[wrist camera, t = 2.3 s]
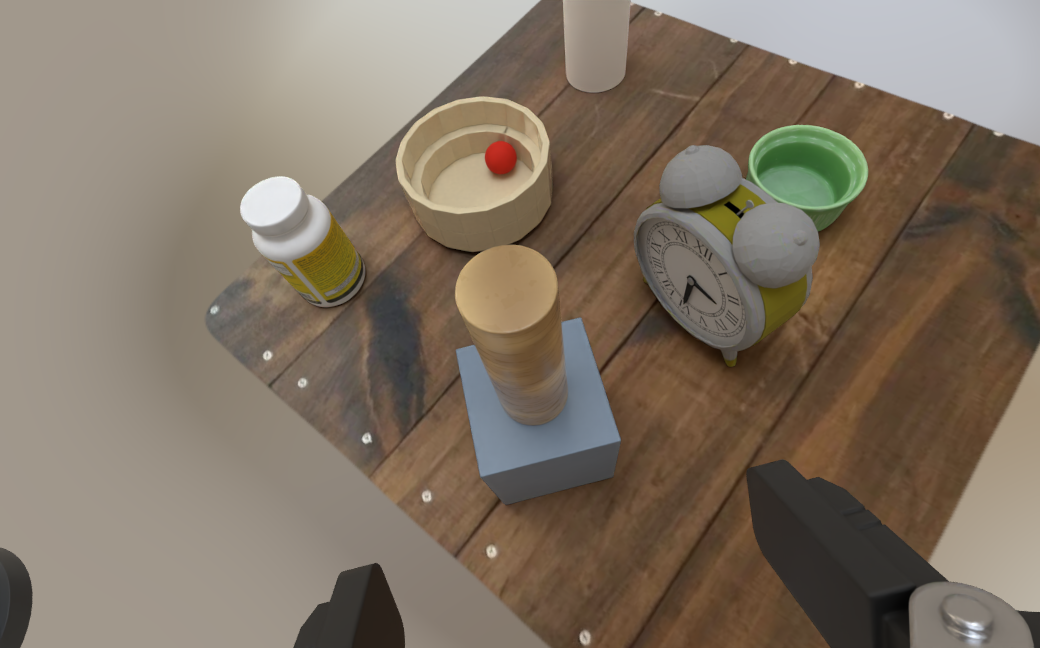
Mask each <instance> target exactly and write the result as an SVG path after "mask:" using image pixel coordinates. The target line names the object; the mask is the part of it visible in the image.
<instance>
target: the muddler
mask: <svg viewBox="0 0 1040 648" xmlns="http://www.w3.org/2000/svg"><path fill="white" fill-rule="evenodd" d="M455 298H456V303H457V307H458V309H459V311H460V313H461V316H462V318H463V320H464V322H465V325H466V327H467V329H468V331H469V334H470V336H471V338H472V340H473V342H474V345H475V347H476V349H477V351H478V354H479V356H480V358H481V360H482V363H483V365H484V367H485V369H486V372H487V374H488V376H489V378H490V380H491V383H492V385H493V387H494V389H495V392H496V394H497V396H498V398H499V401H500V403H501V405H502V407H503V409H504V411H505V412H506V413H507V415H508V416H509V417H511V418H512V419H513V420H515V421H516V422H518V423H521V424H524V425H532V426H533V425H541V424H544V423H547V422H549V421H551V420H553V419H554V418H555V417H557V416H558V415H559V414H560V412H561V411H562V410H563V408H564V406H565V404H566V401H567V397H568V385H567V375H566V364H565V354H564V343H563V333H562V322H561V312H560V301H559V291H558V281H557V276H556V273H555V271H554V269H553V267H552V265H551V264H550V263H549V261H548V260H547V259H546V258H545V257H544V256H542V255H541V254H540V253H538V252H537V251H535V250H533V249H530V248H528V247H524V246H520V245H501V246H496V247H492V248H489V249H487V250H485V251H483V252H481V253H479V254H478V255H476V256H475V257H473V258H472V259H471V260H470V261H469V262H468V263H467V264H466V265H465V267H464V268H463V270H462V271H461V273H460V275H459V277H458V280H457V283H456V288H455Z"/></svg>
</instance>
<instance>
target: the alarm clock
mask: <svg viewBox="0 0 1040 648" xmlns="http://www.w3.org/2000/svg"><path fill="white" fill-rule="evenodd" d="M659 187H660V196H661V199H659V200H658V201H656V202H655V203H653V204H652V205H650V206H649V207H647V208H646V210H645V211H644V212H643V213H642V214H641V215H640V217H639V218H638V220H637V224H636V227H635V231H634V248H635V252H636V256H637V259H638V262H639V265H640V268H641V271H642V273H643V275H644V278H643V281H644V282H645V283H648V285H649V287H650V288H651V290H652V291H653V293H654V294H655V296H656V297H657V299H658V300H659V302H660V303H661V305H662V306H663V307H664V308H665V310H666V311H667V312H668V313H669V314H670V315H671V316H672V317H673V318H674V320H675V321H676V322H678V323H679V324H680V325H681V326H682V327H683V328H684V329H685V330H687V331H688V332H689V333H690V334H691V335H692V336H694V337H696V338H697V339H699V340H701V341H702V342H704V343H706V344H707V345H709V346H711V347H713V348H717V349H721V351H722V354H723V357H724V360H725V362H726V365H727V366H729V367H732V366H735V365H736V360H737V351H741V350H744V349H746V348H749V347H750V346H753V345H755V344H757V343H758V342H759V341H761V340H762V339H763V338H765V337H766V336H767V335H769V334H770V333H771V332H773V331H774V330H775V329H777V328H778V327H779V326H781V325H782V324H783V323H785V322H786V321H787V320H789V319H790V318H791V317H793V316H794V315H795V314H796V313H797V312H798V311H799V310H800V309H801V307H802V306H803V305H804V304H805V302H806V300H807V298H808V296H809V294H810V290H811V284H812V279H813V278H812V265H813V264H814V262H815V261H816V259H817V255H818V251H819V247H820V244H819V236H818V231H817V229H816V227H815V225H814V223H813V221H812V219H811V218H810V217H809V216H808V215H807V214H805V213H804V212H803V211H802V210H801V209H798V208H796V207H794V206H792V205H788V204H785V203H778V202H777V201H775V200H774V199H773V198H772V197H771V196H770V195H769V194H767V193H766V192H765V191H764V190H762V189H761V188H759V187H758V186H756V185H755V184H753V183H752V182H750V181H748V180H745V179H743V178H742V174H741V171H740V168H739V166H738V164H737V162H736V161H735V160H734V159H733V158H732V156H731V155H730V154H728V153H727V152H725V151H724V150H722V149H721V148H717V147H713V146H708V145H705V146H695V145H693V146H690V147H688V148H687V149H686V150H684V151H682V152H680V153H679V154H678V155H676V156H675V157H674V158H673V159H672V160H671V161H670V162H669V163H668V164H667V166H666V168H665V170H664V172H663V175H662V178H661V182H660V185H659Z"/></svg>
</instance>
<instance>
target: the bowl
mask: <svg viewBox="0 0 1040 648" xmlns="http://www.w3.org/2000/svg"><path fill="white" fill-rule="evenodd" d="M497 141H505V142H507V143H509V144H510V145H512V146H513V148H514V149H515V151H516V155H517V160H516V164H515V166H514V168H513V169H512V170H511V171H510V172H508V173H506V174H496V173H494V172H492V171H491V170H490V169H489V168H488V167H487V165H486V162H485V153H486V150H487V148H488V147H489V146H490V145H491V144H492V143H494V142H497ZM396 168H397V174H398V180H399V183H400V185H401V187H402V189H403V191H404V194H405V196H406V198H407V200H408V203H409V205H410V207H411V209H412V211H413V214H414V216H415V218H416V220H417V222H418V223H419V224H420V226H421V227H422V228H423V230H424V231H425V233H426V234H427V235H428V236H429V237H431V238H432V239H434V240H436V241H437V242H439V243H441V244H442V245H444V246H446V247H448V248H453V249H459V250H464V251H469V252H477V251H485V250H487V249H489V248H492V247H496V246H501V245H508V244H511V243H513V242H515V241H518V240H520V239H521V238H523V237H524V236H525V235H526V234H527V233H529V232H530V231H531V230H532V229H533V228H535V227H536V226H537V225H538V224H539V223H540V222H541V220H542V219H543V217H544V215H545V213H546V212H547V210H548V208H549V207H550V205H551V199H552V190H553V177H552V165H551V154H550V142H549V139H548V136H547V133H546V130H545V128H544V125H543V123H542V122H541V121H540V120H539V119H538V118H537V117H536V116H535V115H534V114H533V113H532V112H531V111H530V110H529V109H528V108H526V107H524V106H521V105H519V104H517V103H515V102H512V101H510V100H507V99H501V98H493V97H485V96H484V97H483V96H482V97H474V98H467V99H459V100H456V101H453V102H451V103H448V104H446V105H443V106H441V107H438V108H435V109H434V110H432V111H431V112H429V113H428V114H427V115H425V116H424V117H422V118H421V119H420V120H418V121H417V122H416V123H415V124H414V125H413V126H412V128H411V129H410V130H409V131H408V133H407V134H406V135H405V137H404V138H403V139H402V141H401V144H400V147H399V150H398V154H397V157H396Z"/></svg>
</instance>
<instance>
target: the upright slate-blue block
mask: <svg viewBox="0 0 1040 648" xmlns="http://www.w3.org/2000/svg"><path fill="white" fill-rule="evenodd" d="M562 333H563V343H564V354H565V364H566V375H567V385H568V397H567V401H566V404H565V406H564V408H563V410H562V411H561V412H560V414H559V415H558V416H557V417H555V418H554V419H553V420H551V421H549V422H547V423H544V424H541V425H533V426H532V425H524V424H521V423H518V422H516V421H515V420H513V419H512V418H511V417H509V416H508V415H507V413H506V412H505V411H504V409H503V407H502V405H501V403H500V401H499V398H498V396H497V394H496V392H495V389H494V387H493V385H492V383H491V380H490V378H489V376H488V374H487V372H486V369H485V367H484V365H483V363H482V360H481V358H480V356H479V354H478V351H477V349H476V347H475V345H472V346H468V347H464V348H460V349H457V350H456V354H457V359H458V364H459V370H460V375H461V380H462V385H463V390H464V396H465V401H466V406H467V411H468V416H469V422H470V427H471V432H472V437H473V442H474V448H475V453H476V458H477V463H478V469H479V474H480V477H481V478H482V480H483V481H484V482H485V483H486V484H487V485H488V486H489V487H490V489H491V490H492V491H493V492H494V493H495V494H496V495H497V496H498V498H499V499H500V500H501V501H502V502H503V503H504V504H505V505H508V504H512V503H516V502H520V501H523V500H527V499H531V498H535V497H539V496H543V495H546V494H550V493H554V492H558V491H562V490H566V489H569V488H573V487H577V486H581V485H585V484H589V483H592V482H596V481H600V480H604V479H608V478H612V477H613V476H614V471H615V467H616V462H617V457H618V452H619V448H620V443H621V438H620V435H619V432H618V429H617V426H616V423H615V420H614V417H613V414H612V411H611V408H610V405H609V402H608V398H607V395H606V392H605V389H604V386H603V383H602V380H601V377H600V374H599V371H598V368H597V365H596V362H595V359H594V355H593V352H592V349H591V346H590V343H589V340H588V337H587V334H586V331H585V328H584V325H583V322H582V319H581V318H576V319H572V320H568V321H564V322H562Z"/></svg>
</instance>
